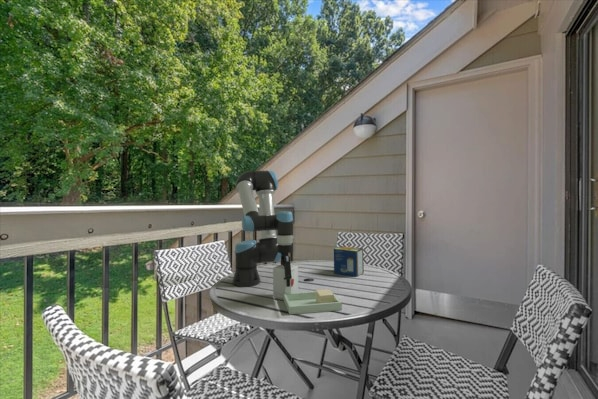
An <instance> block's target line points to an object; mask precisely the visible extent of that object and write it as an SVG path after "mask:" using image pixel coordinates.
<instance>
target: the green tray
mask: <svg viewBox="0 0 598 399" xmlns="http://www.w3.org/2000/svg"><path fill="white" fill-rule="evenodd" d="M283 302H284V305H285V308H286V310H287V312H288V315H299V314H310V313H321V312H334V311H342V310H343V305H342V304H343V302H342V301H341V300H340V299H339V298H338V297H337V296H336V295H335V294H334V302H332V303H320V304H318V303H317V302H316V290H315V291H305V292H303V291H302V292H298V293H288V294H284V299H283Z"/></svg>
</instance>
